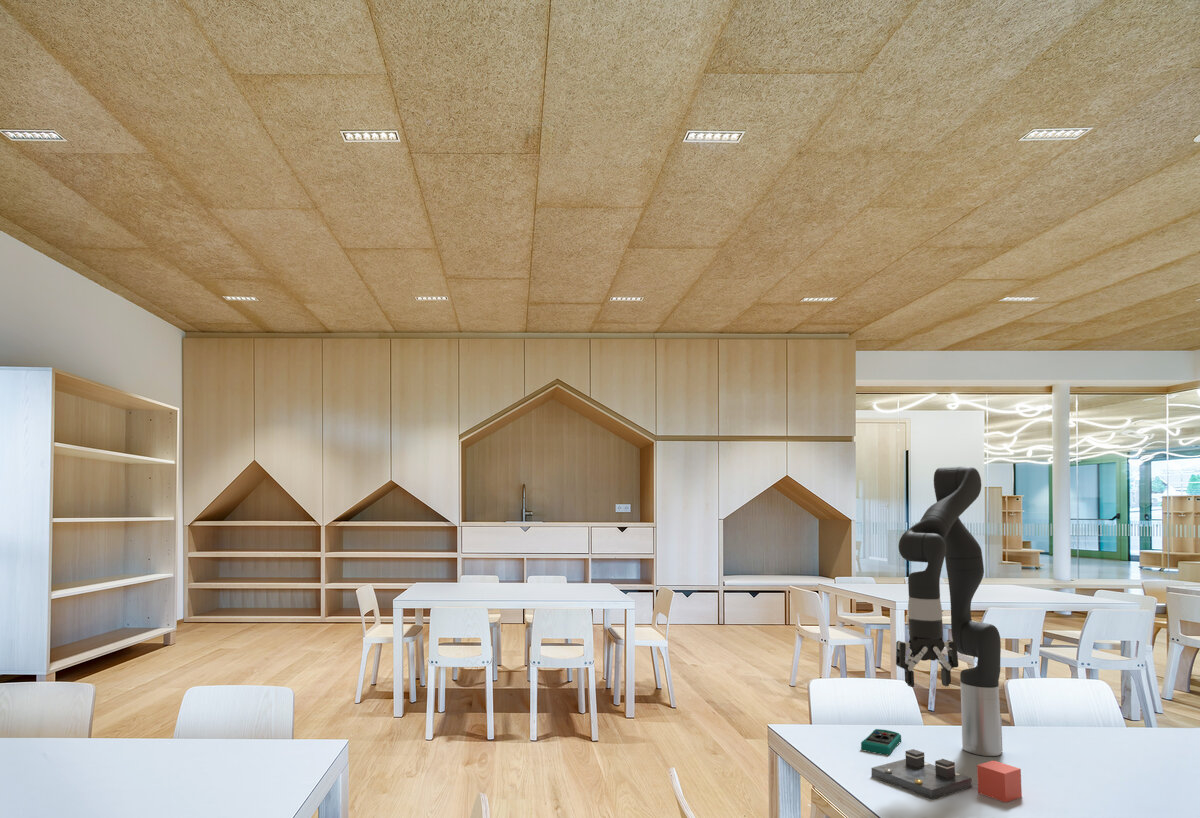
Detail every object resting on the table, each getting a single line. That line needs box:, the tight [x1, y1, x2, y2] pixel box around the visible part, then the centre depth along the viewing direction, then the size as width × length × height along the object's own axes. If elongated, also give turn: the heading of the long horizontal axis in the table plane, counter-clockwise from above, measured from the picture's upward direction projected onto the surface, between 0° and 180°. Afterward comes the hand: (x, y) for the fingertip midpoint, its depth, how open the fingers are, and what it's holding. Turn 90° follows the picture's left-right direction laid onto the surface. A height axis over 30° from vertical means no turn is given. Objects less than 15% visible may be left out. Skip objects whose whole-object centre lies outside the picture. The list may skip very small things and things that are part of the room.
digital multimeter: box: [860, 728, 902, 756], centre depth 207 cm, size 7×15×3 cm, turn 147°
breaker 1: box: [905, 748, 925, 768], centre depth 186 cm, size 3×3×3 cm
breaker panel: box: [871, 758, 973, 800], centre depth 180 cm, size 15×16×3 cm
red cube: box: [976, 760, 1023, 803], centre depth 173 cm, size 6×6×6 cm
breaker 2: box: [934, 758, 956, 778], centre depth 179 cm, size 3×3×3 cm
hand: (928, 685), depth 184 cm, fingers open, 8 cm apart
